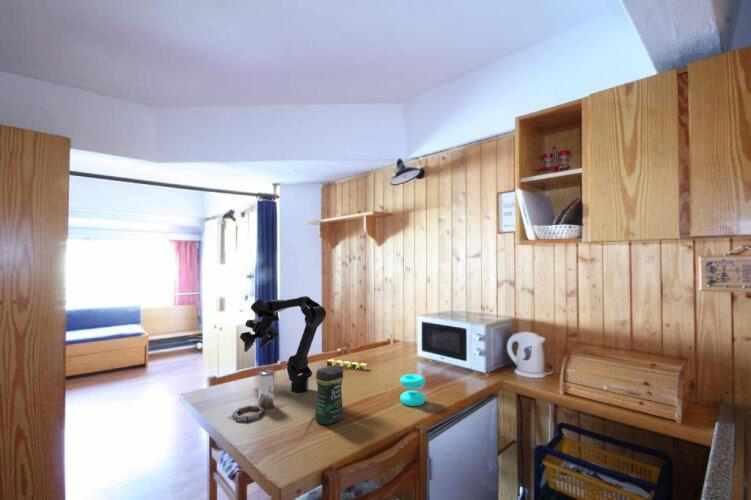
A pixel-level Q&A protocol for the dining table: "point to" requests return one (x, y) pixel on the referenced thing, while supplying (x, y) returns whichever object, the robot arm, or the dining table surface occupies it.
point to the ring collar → (247, 418)
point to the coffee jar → (329, 395)
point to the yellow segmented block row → (347, 364)
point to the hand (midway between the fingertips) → (253, 349)
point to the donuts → (412, 396)
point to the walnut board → (266, 412)
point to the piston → (266, 389)
